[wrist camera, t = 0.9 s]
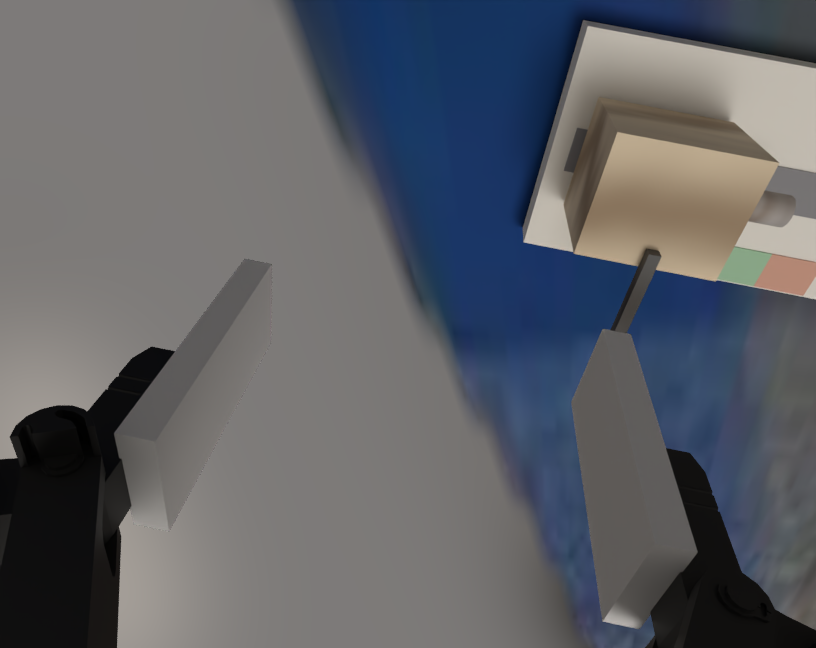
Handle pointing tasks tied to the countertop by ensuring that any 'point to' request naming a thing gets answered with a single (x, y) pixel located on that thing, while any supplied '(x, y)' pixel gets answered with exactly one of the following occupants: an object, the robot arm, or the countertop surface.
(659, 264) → the gauge carriage
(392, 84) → the countertop surface
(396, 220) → the countertop surface
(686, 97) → the bench
